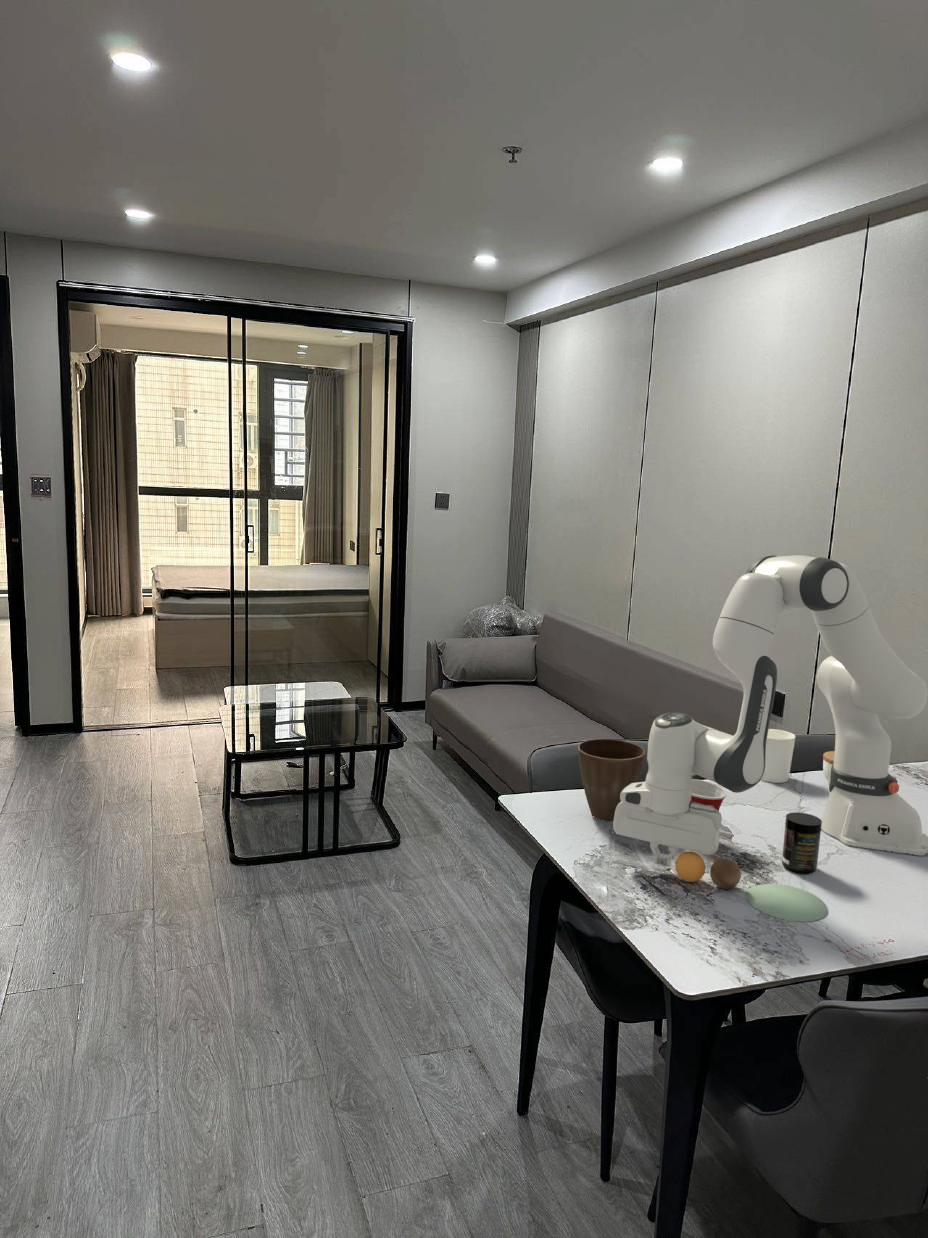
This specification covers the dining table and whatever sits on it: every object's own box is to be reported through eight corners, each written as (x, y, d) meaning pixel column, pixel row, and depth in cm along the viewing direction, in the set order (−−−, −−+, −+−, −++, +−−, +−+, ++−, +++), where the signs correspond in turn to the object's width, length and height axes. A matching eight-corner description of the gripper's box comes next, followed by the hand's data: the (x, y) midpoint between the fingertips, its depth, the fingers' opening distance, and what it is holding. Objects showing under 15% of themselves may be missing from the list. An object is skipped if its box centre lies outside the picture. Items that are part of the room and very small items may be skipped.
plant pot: (627, 834, 186) (632, 763, 183) (564, 819, 193) (567, 750, 190) (649, 812, 199) (653, 746, 196) (588, 799, 206) (592, 735, 203)
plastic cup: (725, 852, 178) (730, 797, 176) (672, 846, 180) (676, 792, 178) (721, 832, 188) (725, 780, 186) (670, 827, 190) (674, 775, 189)
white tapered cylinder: (770, 786, 220) (774, 740, 218) (744, 773, 229) (747, 730, 227) (799, 781, 224) (804, 737, 222) (772, 770, 232) (776, 727, 231)
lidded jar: (875, 791, 218) (878, 756, 217) (840, 794, 215) (843, 758, 214) (845, 777, 228) (848, 743, 227) (811, 780, 225) (814, 746, 224)
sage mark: (831, 897, 160) (831, 896, 160) (822, 929, 148) (822, 928, 147) (753, 878, 166) (753, 877, 166) (739, 908, 154) (739, 907, 154)
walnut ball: (737, 887, 164) (748, 863, 162) (731, 899, 159) (742, 874, 157) (709, 872, 166) (720, 848, 164) (702, 883, 161) (713, 859, 160)
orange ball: (675, 854, 168) (694, 877, 167) (665, 867, 164) (684, 892, 163) (696, 841, 165) (715, 865, 164) (686, 855, 161) (706, 879, 160)
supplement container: (824, 874, 169) (829, 823, 168) (795, 877, 167) (800, 826, 166) (801, 859, 176) (806, 811, 174) (774, 862, 174) (778, 813, 172)
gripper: (726, 803, 163) (720, 871, 165) (622, 782, 173) (618, 847, 175) (718, 813, 158) (713, 884, 160) (612, 791, 167) (608, 858, 169)
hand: (662, 864), depth 168 cm, fingers closed
